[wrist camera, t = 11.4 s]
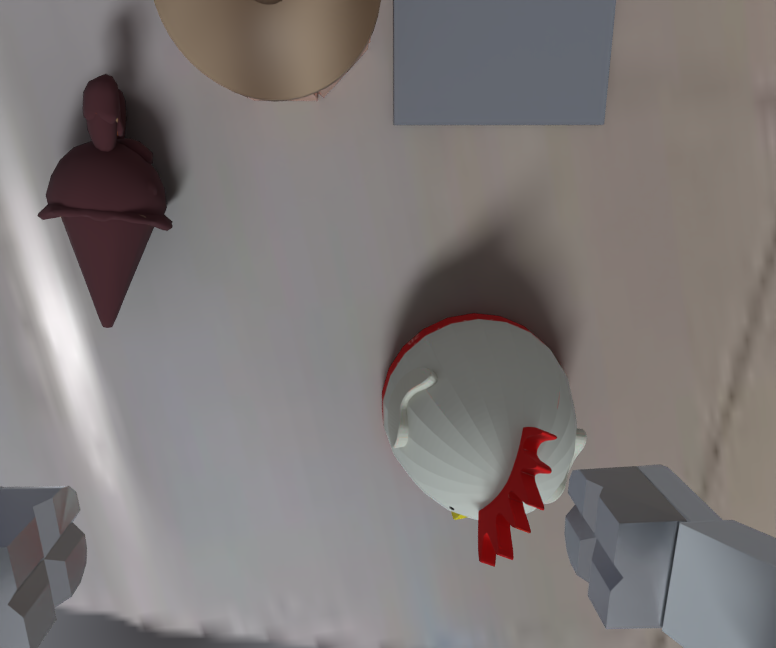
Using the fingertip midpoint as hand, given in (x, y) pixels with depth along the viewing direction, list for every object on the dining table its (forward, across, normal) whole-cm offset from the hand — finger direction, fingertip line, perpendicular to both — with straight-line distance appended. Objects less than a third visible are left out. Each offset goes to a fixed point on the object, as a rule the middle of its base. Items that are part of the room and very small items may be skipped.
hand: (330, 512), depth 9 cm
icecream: (+31, +15, -3) cm, 35 cm away
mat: (+31, -10, -14) cm, 36 cm away
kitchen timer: (+31, -9, +12) cm, 35 cm away
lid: (+26, +4, -15) cm, 30 cm away
